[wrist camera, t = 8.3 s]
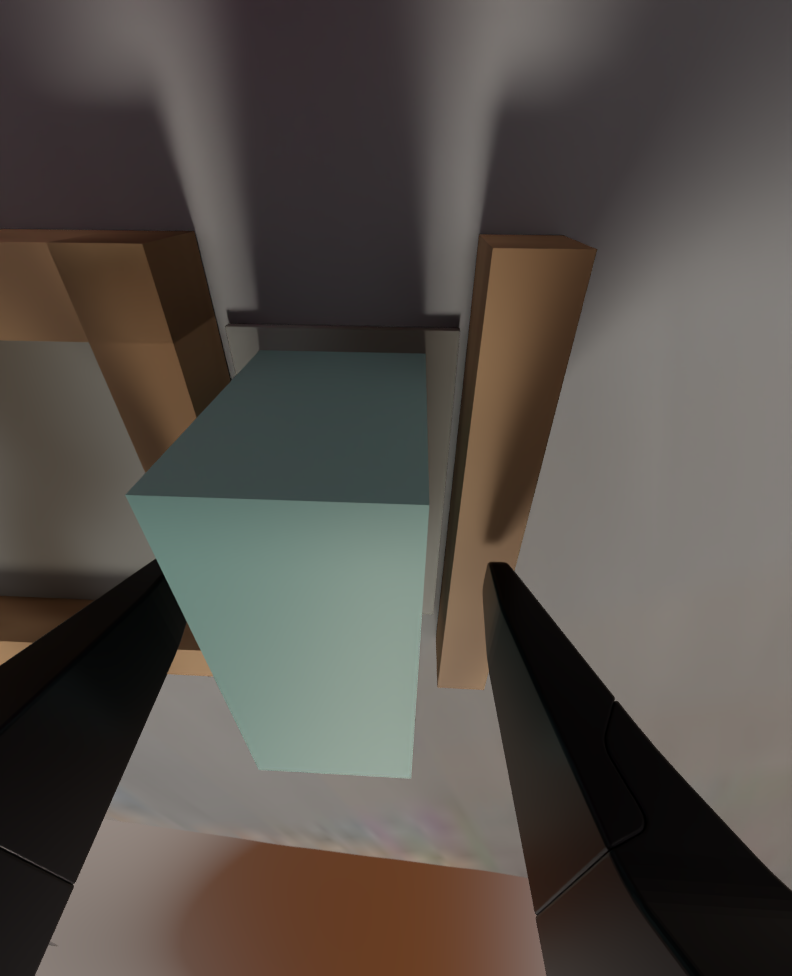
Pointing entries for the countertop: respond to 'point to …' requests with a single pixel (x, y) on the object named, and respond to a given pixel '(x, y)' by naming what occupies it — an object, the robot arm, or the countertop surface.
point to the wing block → (304, 553)
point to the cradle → (204, 374)
